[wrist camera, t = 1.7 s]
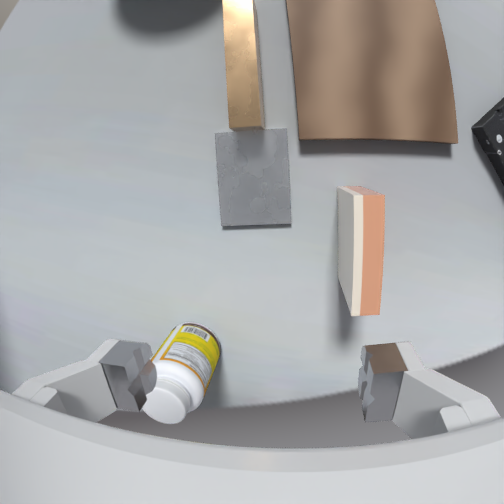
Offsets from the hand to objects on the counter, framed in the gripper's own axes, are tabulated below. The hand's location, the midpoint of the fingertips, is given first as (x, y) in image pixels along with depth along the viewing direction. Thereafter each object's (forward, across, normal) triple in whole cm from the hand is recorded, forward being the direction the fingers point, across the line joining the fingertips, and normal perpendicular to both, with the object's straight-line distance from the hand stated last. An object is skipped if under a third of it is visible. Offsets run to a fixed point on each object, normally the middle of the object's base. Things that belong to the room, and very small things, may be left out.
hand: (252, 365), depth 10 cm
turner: (+20, +2, -11) cm, 22 cm away
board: (+19, -9, -19) cm, 29 cm away
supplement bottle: (+20, +9, +11) cm, 24 cm away
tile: (+20, -6, 0) cm, 20 cm away
